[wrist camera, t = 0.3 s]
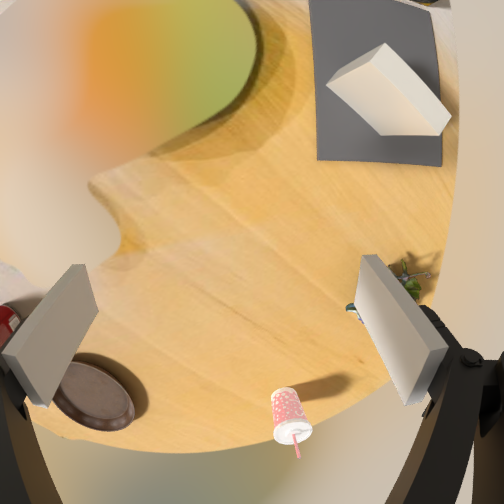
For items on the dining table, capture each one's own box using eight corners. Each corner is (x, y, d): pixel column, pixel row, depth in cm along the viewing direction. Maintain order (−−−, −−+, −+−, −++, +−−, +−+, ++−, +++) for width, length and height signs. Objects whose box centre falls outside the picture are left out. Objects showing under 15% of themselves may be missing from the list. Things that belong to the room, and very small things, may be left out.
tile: (380, 135, 37) (439, 135, 25) (325, 85, 35) (369, 61, 23) (392, 119, 37) (452, 114, 24) (339, 68, 34) (386, 41, 22)
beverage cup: (305, 399, 52) (324, 459, 39) (274, 411, 52) (286, 472, 39) (294, 379, 50) (313, 441, 37) (261, 391, 50) (272, 455, 37)
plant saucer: (89, 337, 44) (83, 348, 42) (156, 406, 50) (154, 418, 47) (36, 370, 46) (30, 380, 43) (96, 428, 52) (93, 439, 49)
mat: (306, -15, 30) (308, -17, 30) (426, 13, 32) (429, 11, 31) (317, 160, 39) (318, 160, 38) (438, 166, 40) (441, 167, 39)
